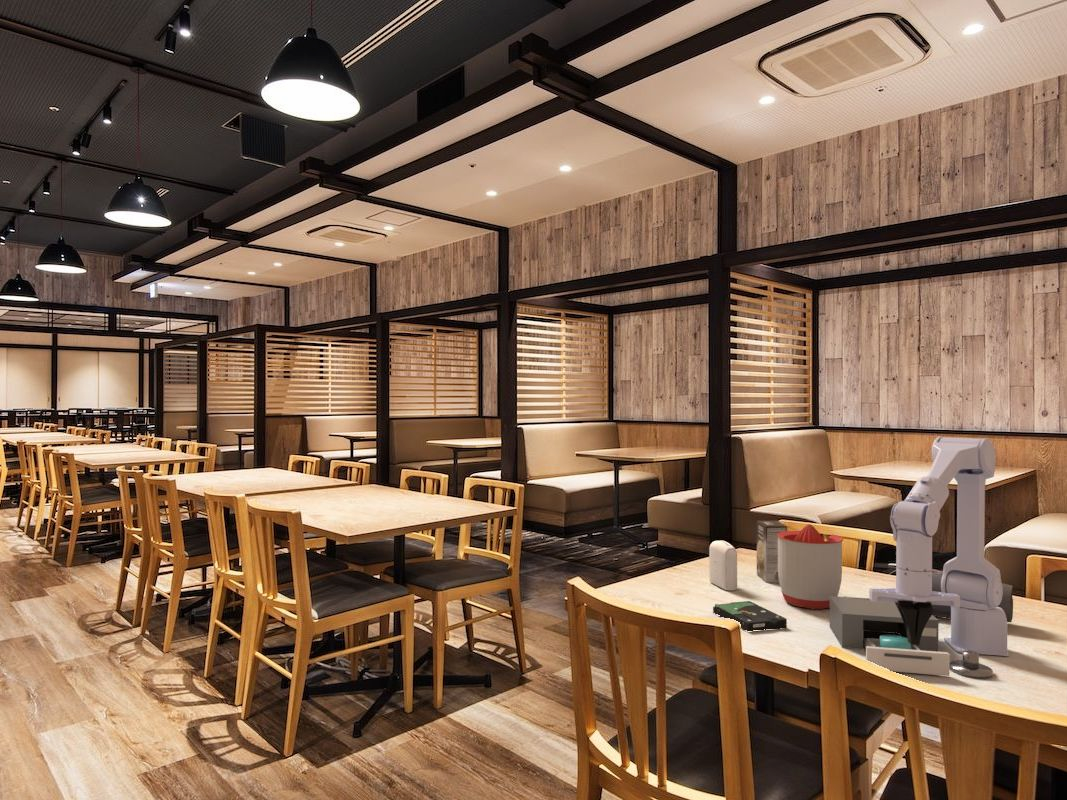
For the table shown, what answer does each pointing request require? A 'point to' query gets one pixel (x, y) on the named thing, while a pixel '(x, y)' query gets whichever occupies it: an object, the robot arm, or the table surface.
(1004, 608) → the bluetooth speaker
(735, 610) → the disk drive
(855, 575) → the table surface
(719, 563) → the photo printer
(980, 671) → the spindle stand
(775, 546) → the coffee box
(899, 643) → the teal rounded disc
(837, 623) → the player cabinet
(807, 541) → the citrus juicer
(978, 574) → the robot arm
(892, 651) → the drawer
